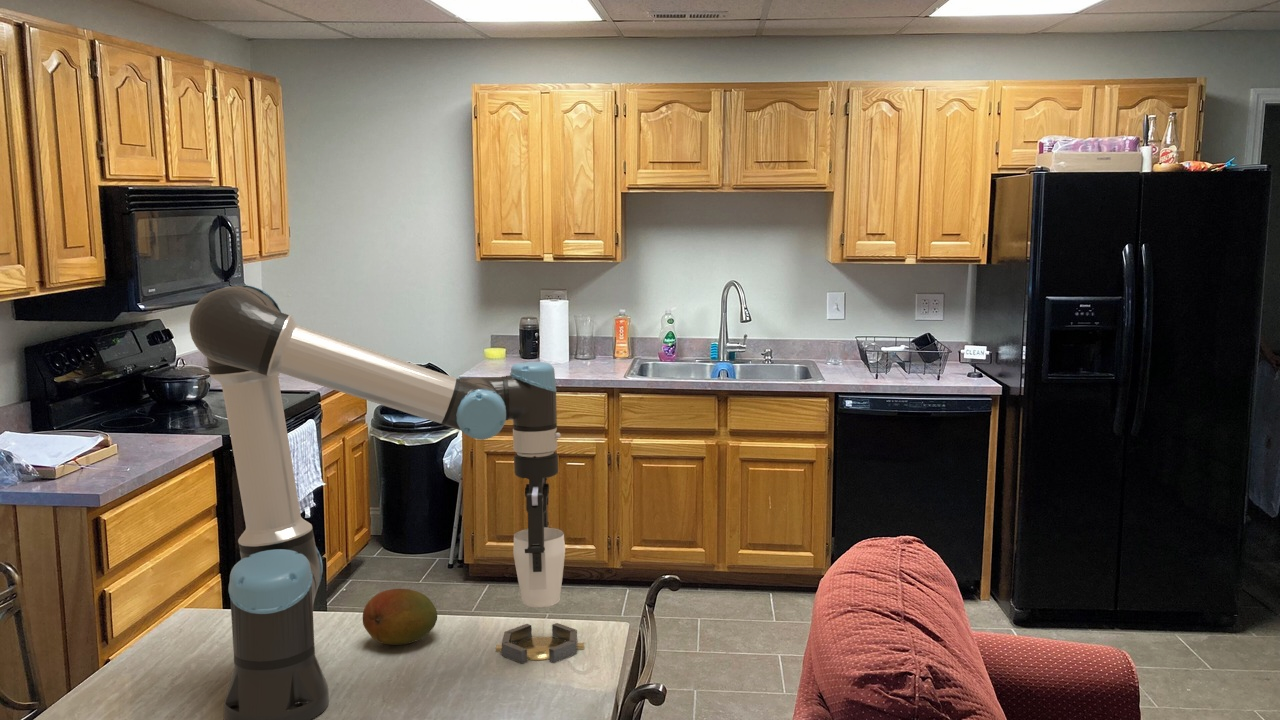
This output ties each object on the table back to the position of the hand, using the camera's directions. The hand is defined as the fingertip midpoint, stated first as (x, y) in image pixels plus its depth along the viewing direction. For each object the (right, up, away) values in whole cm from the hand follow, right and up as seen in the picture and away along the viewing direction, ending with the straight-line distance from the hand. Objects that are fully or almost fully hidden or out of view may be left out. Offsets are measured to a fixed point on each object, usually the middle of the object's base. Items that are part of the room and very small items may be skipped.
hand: (539, 579), depth 176 cm
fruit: (-25, -13, +5) cm, 29 cm away
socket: (0, -12, +1) cm, 13 cm away
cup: (0, -4, 0) cm, 4 cm away
